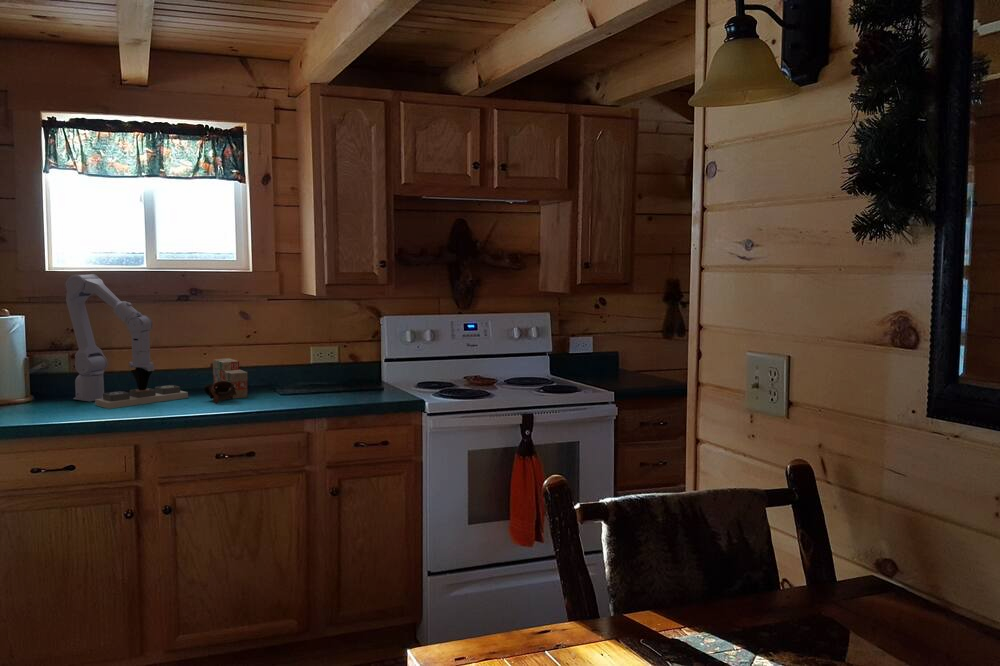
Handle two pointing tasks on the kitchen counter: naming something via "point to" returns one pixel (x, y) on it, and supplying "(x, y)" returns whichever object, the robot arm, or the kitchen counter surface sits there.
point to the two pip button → (115, 393)
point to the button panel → (140, 397)
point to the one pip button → (167, 387)
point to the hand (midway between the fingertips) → (142, 389)
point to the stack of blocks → (231, 375)
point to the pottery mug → (220, 391)
